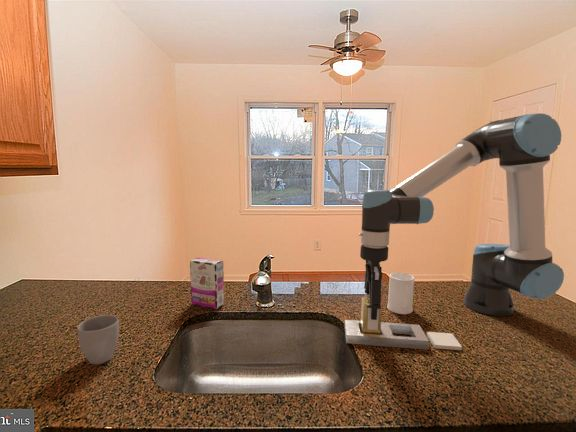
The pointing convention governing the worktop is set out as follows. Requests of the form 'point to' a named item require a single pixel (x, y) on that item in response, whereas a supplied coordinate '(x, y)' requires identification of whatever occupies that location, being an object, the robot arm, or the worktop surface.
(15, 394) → the worktop surface
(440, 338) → the pad
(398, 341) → the rail plate
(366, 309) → the brass block
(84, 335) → the mug
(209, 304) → the candy bar box
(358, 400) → the worktop surface
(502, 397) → the worktop surface
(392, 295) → the mug
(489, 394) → the worktop surface
